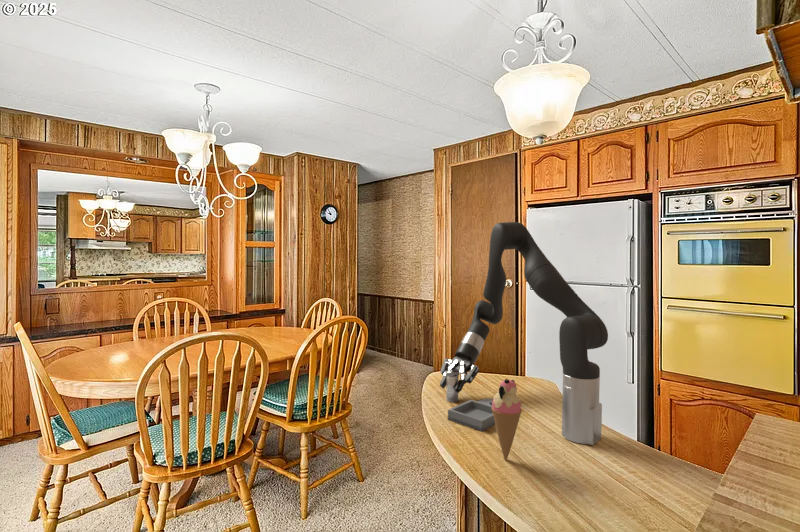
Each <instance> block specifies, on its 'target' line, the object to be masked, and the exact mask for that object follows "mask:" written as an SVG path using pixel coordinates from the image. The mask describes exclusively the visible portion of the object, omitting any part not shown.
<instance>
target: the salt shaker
mask: <svg viewBox="0 0 800 532" xmlns="http://www.w3.org/2000/svg"><path fill="white" fill-rule="evenodd" d="M446 375H447V384H446V394H445V395H446V397H445V398H446V401H447V402H448V401H449V402H448V403H457V401H458V402H459V393H457V392H456V391H455V387H456V385H457V383H458V381H459V375H460V373H459V370H456V369H448V370H446Z"/></svg>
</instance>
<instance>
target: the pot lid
mask: <svg viewBox="0 0 800 532" xmlns="http://www.w3.org/2000/svg"><path fill="white" fill-rule="evenodd" d="M492 401H493V398H483V399H479V400H478V402H481V403H484V404H488V405H491V406H492Z"/></svg>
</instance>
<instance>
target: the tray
mask: <svg viewBox="0 0 800 532" xmlns="http://www.w3.org/2000/svg"><path fill="white" fill-rule="evenodd" d="M478 401H479V400H478ZM478 401H477V400H473V399H470V400H467V401H465V402H462V403H459V404H458V405H456V406H454V407H451V408H449V409H448V410H447V420H448V421H451V422H453V423H456V424H459V425H462V426H465V427H468V428H470V429H474V430H476V431H479V432H484V431H487V430H488V429H489V428H491V427H493V426H495V425H494V424H495V420H494V416H493V412H492V409H491V408H492V406H491V405H488V404H484V403H481V402H478Z"/></svg>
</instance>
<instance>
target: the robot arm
mask: <svg viewBox="0 0 800 532" xmlns="http://www.w3.org/2000/svg"><path fill="white" fill-rule="evenodd" d="M506 250H507V251H508V250H516V251H518V252H519V254H521V256H522V258H523V259H524V266H523V267H524V269H523V270H524V272H523V273H524V278H525V280H526V282H527V284H528V285H529V287H530V289H532V290H533V292H534V293H535V294H536V295H537V296H538V297H539V298H540V299H542V300H543V301H544V302H546V303H548V304H549V305H550V306H552V307H554V308H556V309H557V310H559V311H560V312H561V313H563V314H564V315H565V316H566V317H565V318H563V320H562V321H561V323H560V326H559V336H558V337H559V339H558V341H559V358H560V363H561V367H562V403H561V404H562V405H561V406H562V407H561V435H562V437H563V438H565V439H566V440H568V441H571V442H573V443H578V444H582V445H583V444H584V445H585V444H586V445H591V446H594V445H595V444H596V443H598V442H599V441H600V440H601V439H602V425H603V424H602V423H603V420H602V419H603V404H602V403H600V387H601V386H600V384H601V383H600V380H601V375H600V374H601V373H600V372H601V371H600V370H601V368H600V366H599V364H598V363H595V362H592V361H589V357H588V354H589V353H588V350H595V349H599V348H602V347H604V346H605V345H606V344H607V342H608V338H609V333H608V332H609V331H608V328H607V326H606V324H605V323H604V321H603V319H601V317H600V316H599V315H598V314H597V313H596V312H595V311H594V310H592V308H590V307H589V305H588V304H587V303H585V302H584V301H583V300H582V298H581V297H580V296H579V295H578V294H577V293H576V291H575V290H574V289H573V288H572V286H570V285H569V283H568V282H567V281H566V279H565V278H563V276H562V274H561V273H560V272H559V271H558V270H557V268H556V267H555V265H553V264H552V262H551V261H550V260H549V258H547V256H546V255H545V254H544V252H543V251H542V250H541V248H540V247H539V246H538V244H537V243H536V241H535V240H534V237H533V236H532V235H531V233H530V232H529V229H527V227H526V225H524V224H523V223H522V222H519V221H508V222H507V221H505V222H504V221H503V222H498V223H495V224H494V226H493V227H492V229H491V234H490V240H489V253H488V266H487V267H488V269H487V276H486V279H485V285H484V289H483V292H482V293H483V295H482V296H483V297H484V299H485V300H483V299H482V300H478V301H477V302H476V304H475V306H474V308H473V309H474V310H473V317H472V320H471V324H470V325H469V328H468V329H467V330H466V333H465V335H464V336H463V338H462V339H461V341H460V344H459V345H458V347H457V349H456V351H455V353H454V357H453V358H452V359H448V358H447V357H445V359H444V360H443V363H442V365H441V369H440V372H439V373H441V375H442V378H441V380H440V382H439V386H440V388H442V389H445V388H446V387H447V375H446V370H448V369H456V370H459V375H460V376H459V377H460V378H459V379H458V383H457V385H456V387H455V391H456V392H457V393H458V394H460V392H461V391H462V390H463V389H464V388H463V387H464V386H465V385H466V384H471V383H473V381H474V380H475V378H476V376H477V375H478V374H479V372H480V369H479V366H477V365H476V364H475V363H476V362H477V359H478V357H479V356H480V353H481V351H482V349H483V347H484V344H485V341H486V339H487V337H488V335H489V334H490V327H489V326H488V325H487V324H486V323H485V322H487V323H489V324H492V325H497V324H499V323H500V322H501V321H502V319H503V314H504V308H503V296H504V293H505V290H506V284H507V275H506V272H505V269H504V266H503V264H502V263H503V262H502V259H503V258H502V257H503V254H504V251H506ZM483 321H484V322H483ZM474 364H475V365H474Z"/></svg>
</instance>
